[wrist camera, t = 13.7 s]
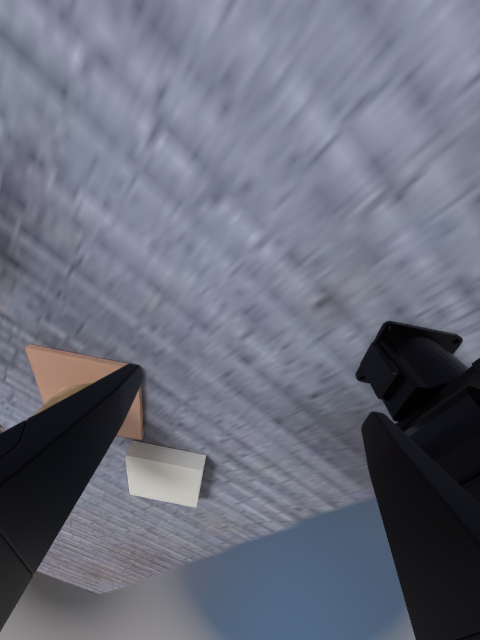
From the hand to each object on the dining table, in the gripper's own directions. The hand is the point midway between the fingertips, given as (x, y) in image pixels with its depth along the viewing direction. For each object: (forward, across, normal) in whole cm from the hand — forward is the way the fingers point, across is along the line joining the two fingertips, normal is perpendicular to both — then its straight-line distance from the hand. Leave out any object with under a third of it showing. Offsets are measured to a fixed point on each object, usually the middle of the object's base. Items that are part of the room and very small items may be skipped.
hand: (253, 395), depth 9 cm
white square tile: (+12, +7, +30) cm, 33 cm away
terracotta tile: (+12, +16, +18) cm, 27 cm away
